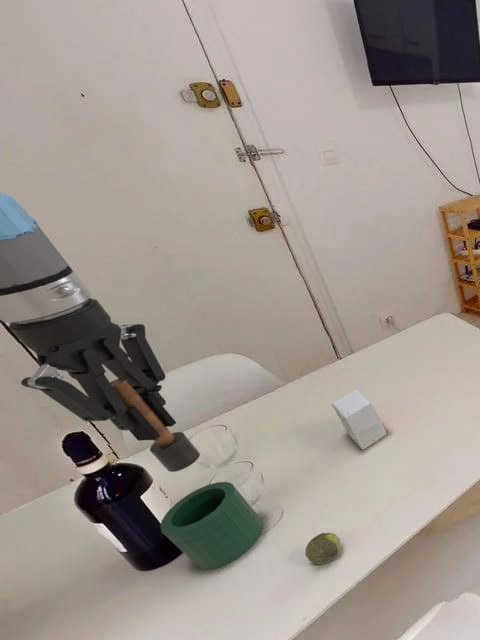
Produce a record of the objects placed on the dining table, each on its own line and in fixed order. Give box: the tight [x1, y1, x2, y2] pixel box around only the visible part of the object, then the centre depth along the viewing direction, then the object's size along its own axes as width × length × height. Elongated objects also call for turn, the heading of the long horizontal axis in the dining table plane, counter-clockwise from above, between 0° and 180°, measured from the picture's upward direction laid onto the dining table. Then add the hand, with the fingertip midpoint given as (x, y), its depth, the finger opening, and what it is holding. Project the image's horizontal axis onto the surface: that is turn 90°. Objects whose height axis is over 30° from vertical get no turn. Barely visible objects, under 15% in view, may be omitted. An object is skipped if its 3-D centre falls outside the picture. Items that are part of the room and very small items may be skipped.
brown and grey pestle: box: [109, 378, 201, 473], centre depth 65 cm, size 4×4×18 cm
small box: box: [330, 389, 388, 451], centre depth 95 cm, size 8×6×10 cm
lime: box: [304, 532, 341, 565], centre depth 72 cm, size 4×5×5 cm
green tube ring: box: [159, 481, 264, 571], centre depth 73 cm, size 9×9×11 cm
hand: (157, 431), depth 66 cm, fingers closed on brown and grey pestle, 2 cm apart
